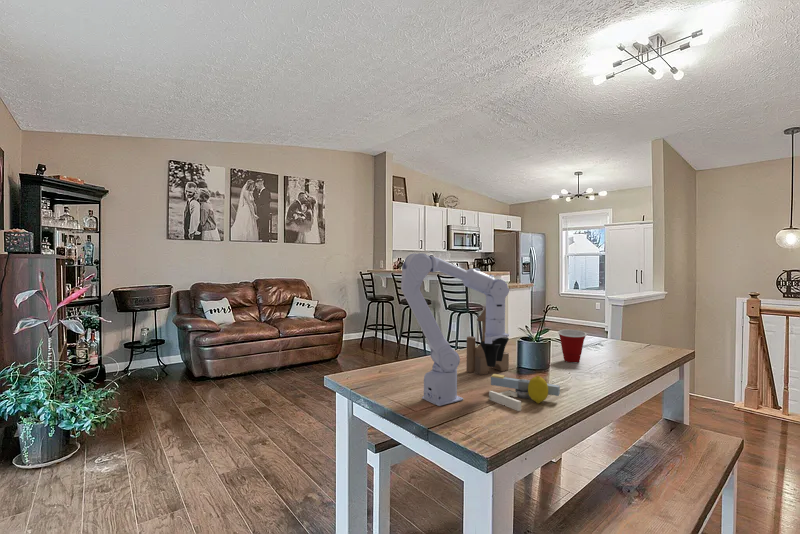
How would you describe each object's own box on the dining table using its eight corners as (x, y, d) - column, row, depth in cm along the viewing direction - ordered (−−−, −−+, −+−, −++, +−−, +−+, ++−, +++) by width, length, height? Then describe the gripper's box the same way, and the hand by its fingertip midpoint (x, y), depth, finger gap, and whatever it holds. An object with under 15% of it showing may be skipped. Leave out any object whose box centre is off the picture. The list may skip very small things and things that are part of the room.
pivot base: (525, 399, 120) (525, 394, 120) (511, 395, 125) (511, 389, 125) (536, 396, 123) (536, 391, 123) (522, 392, 127) (522, 386, 127)
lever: (557, 396, 117) (557, 386, 117) (490, 385, 128) (490, 375, 127) (560, 393, 120) (560, 383, 120) (493, 382, 131) (493, 373, 131)
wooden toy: (496, 366, 158) (496, 301, 158) (508, 370, 153) (509, 303, 152) (464, 371, 151) (465, 303, 150) (476, 376, 145) (477, 305, 144)
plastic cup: (558, 363, 162) (558, 333, 162) (556, 357, 173) (556, 328, 172) (588, 365, 159) (588, 334, 159) (584, 359, 169) (584, 330, 169)
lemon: (535, 407, 114) (535, 379, 114) (524, 401, 119) (524, 373, 119) (552, 405, 116) (552, 377, 115) (540, 399, 121) (540, 372, 121)
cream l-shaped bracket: (518, 411, 111) (518, 402, 111) (488, 399, 121) (489, 391, 120) (539, 404, 116) (540, 396, 116) (509, 394, 126) (509, 385, 125)
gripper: (502, 322, 115) (501, 371, 115) (514, 316, 128) (513, 360, 128) (477, 320, 118) (477, 367, 119) (492, 315, 131) (491, 357, 131)
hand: (494, 363), depth 124 cm, fingers open, 7 cm apart
